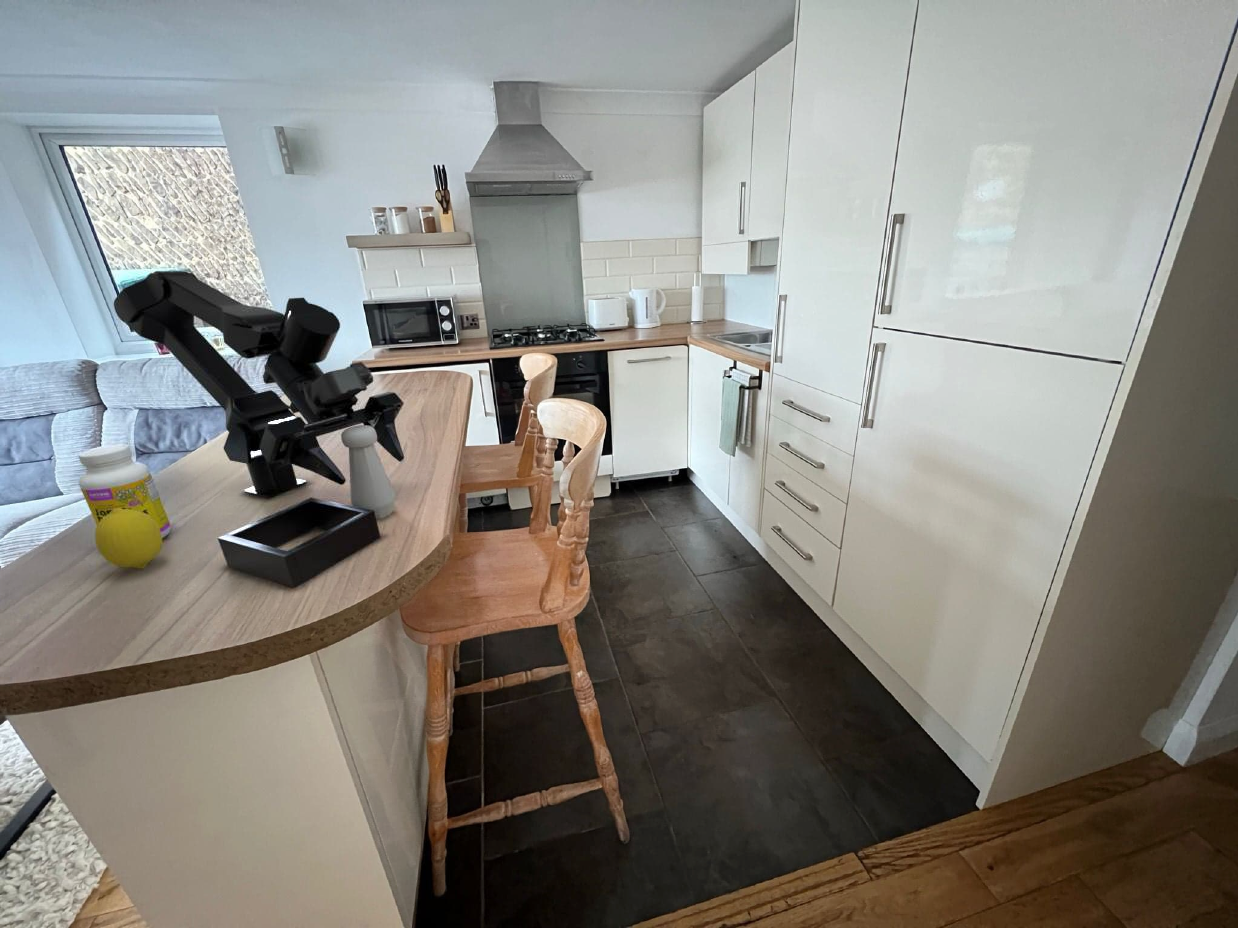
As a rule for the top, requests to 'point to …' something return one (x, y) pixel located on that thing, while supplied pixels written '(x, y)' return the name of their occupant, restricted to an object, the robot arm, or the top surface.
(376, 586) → the top surface
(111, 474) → the supplement bottle
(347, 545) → the black rectangular open frame
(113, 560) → the lemon
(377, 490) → the salt shaker
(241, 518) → the top surface
